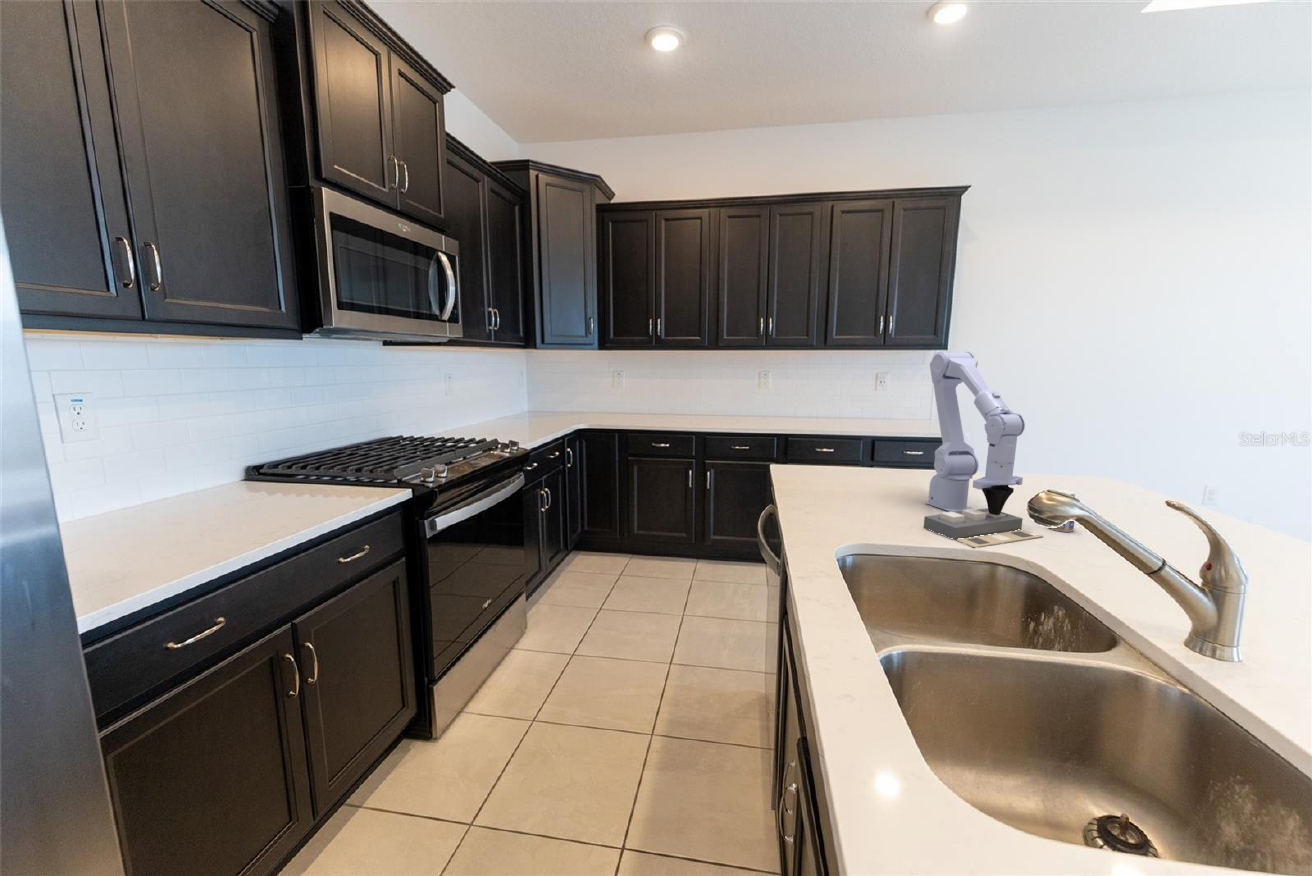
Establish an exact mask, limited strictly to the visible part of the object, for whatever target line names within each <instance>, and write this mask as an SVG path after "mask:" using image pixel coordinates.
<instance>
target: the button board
mask: <svg viewBox="0 0 1312 876" xmlns="http://www.w3.org/2000/svg"><path fill="white" fill-rule="evenodd" d="M977 510H978V511H981V512H989V511H988V507H987V508H978V509H977ZM955 513H958V514H961V515H962V512H955ZM1001 514H1004V515H1006V517H1000V518H994V517H991V516H988V515H986V517H985V520H978V521H973V520H970V519H967V518H965V517H964V523H957V524H951V523H949V522H946V521H943V520H941V519H940V517H941V513H940V514H933V515H924V520H923V528H924V529H925V528H926V529H925V530H928V529H930V530H932V531H931V532H933V531H934V532H933V533H935V532H936V533H935V534H938V533H940V534H943V535H945V536H947V537H946V538H948V537H949V538H948V539H950V538H953V539H958V538H969V537H974V536H980V535H988V534H994V533H1004V532H1009V531H1015V530H1018V529H1021V530H1022V529H1023V528H1022V527H1023V520H1024V518H1022V517H1019V516H1016V515H1014V514H1010V513H1006V512H1005V511H1001ZM930 530H929V531H930ZM940 534H939V535H940ZM943 535H942V536H943ZM945 536H944V537H945ZM953 539H952V540H953Z"/></svg>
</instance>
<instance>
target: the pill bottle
mask: <svg viewBox="0 0 1312 876" xmlns="http://www.w3.org/2000/svg"><path fill="white" fill-rule="evenodd" d="M1056 490H1057V491H1059V492H1065V493H1067V494H1070V495H1071V496H1073V497H1074V498H1075V496H1076V493H1075V492H1074V491H1071V490H1068V489H1066V490H1065V489H1056ZM1075 523H1076V521H1075V522H1074V521H1068V522H1067V523H1066V524H1063V525H1062V526H1060V527H1057V528H1051V529H1050V530H1052V531H1055V530H1056V531H1057V532H1063V533H1071V532H1073V531H1074V529H1075ZM1056 531H1055V532H1056Z"/></svg>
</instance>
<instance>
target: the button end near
mask: <svg viewBox="0 0 1312 876" xmlns="http://www.w3.org/2000/svg"><path fill="white" fill-rule="evenodd" d="M940 514H941V517H940V519H941V520H943V521H946V522H949V523H951V524H957V523H964V517H965V516H964V515H961V514H958V513H955V512H949V511H945V512H940Z"/></svg>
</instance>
